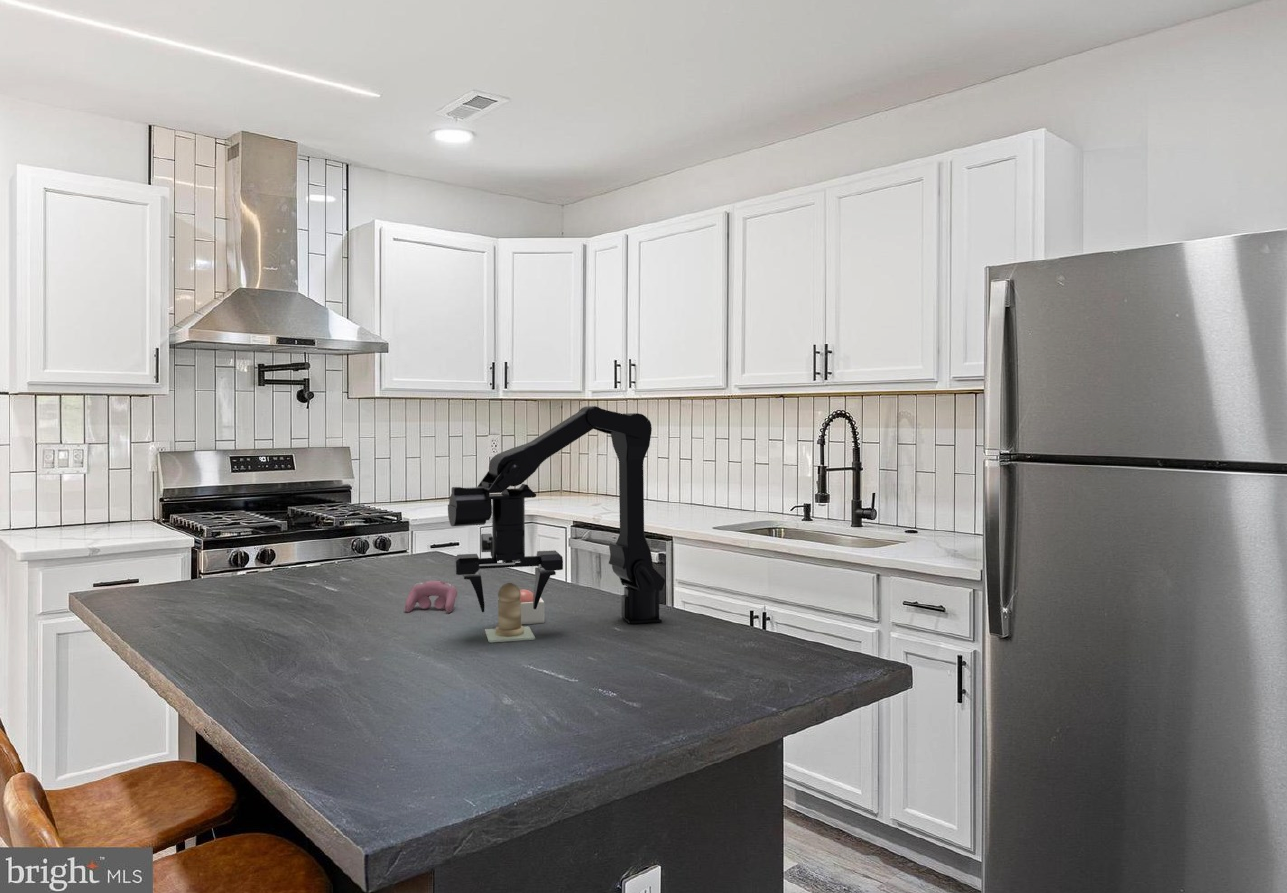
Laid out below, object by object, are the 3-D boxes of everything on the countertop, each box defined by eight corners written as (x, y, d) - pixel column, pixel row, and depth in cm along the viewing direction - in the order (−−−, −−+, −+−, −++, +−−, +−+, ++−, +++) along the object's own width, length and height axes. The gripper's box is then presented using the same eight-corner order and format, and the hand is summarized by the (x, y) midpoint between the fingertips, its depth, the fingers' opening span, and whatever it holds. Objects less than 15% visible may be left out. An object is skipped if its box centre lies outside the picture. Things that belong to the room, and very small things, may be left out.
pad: (528, 628, 157) (528, 626, 157) (535, 639, 149) (535, 637, 149) (484, 631, 155) (484, 629, 155) (488, 642, 147) (488, 640, 147)
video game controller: (456, 617, 173) (461, 583, 176) (450, 612, 169) (454, 577, 171) (409, 616, 174) (414, 583, 176) (401, 611, 169) (407, 576, 172)
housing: (538, 614, 168) (538, 594, 168) (544, 623, 161) (544, 602, 161) (503, 617, 166) (503, 596, 166) (507, 625, 159) (507, 604, 159)
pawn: (521, 629, 155) (521, 580, 155) (525, 635, 150) (525, 585, 150) (494, 630, 154) (493, 581, 154) (497, 637, 149) (496, 586, 149)
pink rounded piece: (534, 613, 167) (534, 586, 167) (538, 619, 162) (538, 591, 162) (508, 615, 165) (508, 587, 165) (512, 621, 161) (511, 592, 161)
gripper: (552, 516, 162) (553, 598, 162) (452, 520, 157) (453, 604, 157) (563, 523, 151) (563, 611, 151) (456, 527, 146) (456, 617, 146)
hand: (509, 610), depth 152 cm, fingers open, 9 cm apart
